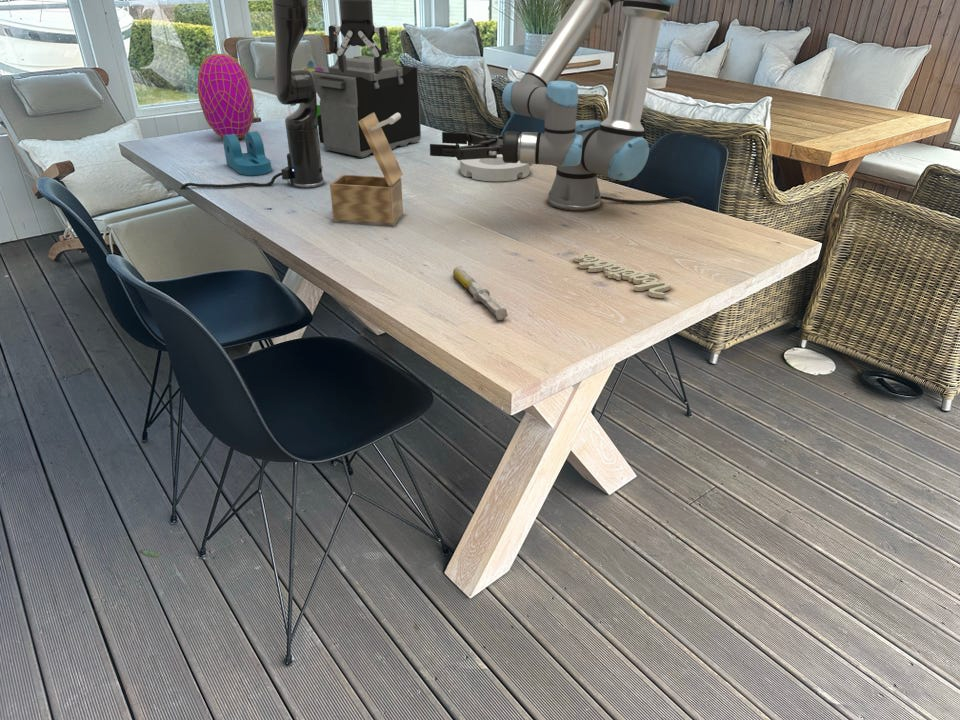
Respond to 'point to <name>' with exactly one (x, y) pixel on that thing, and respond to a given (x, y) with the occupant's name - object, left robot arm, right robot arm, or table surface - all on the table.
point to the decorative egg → (225, 95)
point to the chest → (366, 200)
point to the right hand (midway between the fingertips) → (436, 143)
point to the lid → (381, 146)
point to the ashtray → (493, 169)
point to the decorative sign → (625, 274)
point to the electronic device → (367, 104)
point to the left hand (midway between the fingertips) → (360, 72)
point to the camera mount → (246, 154)
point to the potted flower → (311, 68)
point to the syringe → (479, 293)
